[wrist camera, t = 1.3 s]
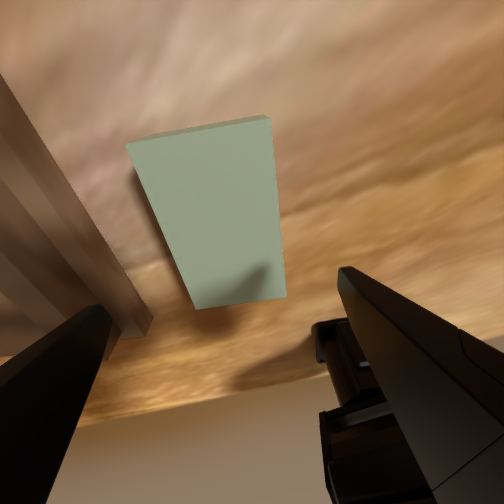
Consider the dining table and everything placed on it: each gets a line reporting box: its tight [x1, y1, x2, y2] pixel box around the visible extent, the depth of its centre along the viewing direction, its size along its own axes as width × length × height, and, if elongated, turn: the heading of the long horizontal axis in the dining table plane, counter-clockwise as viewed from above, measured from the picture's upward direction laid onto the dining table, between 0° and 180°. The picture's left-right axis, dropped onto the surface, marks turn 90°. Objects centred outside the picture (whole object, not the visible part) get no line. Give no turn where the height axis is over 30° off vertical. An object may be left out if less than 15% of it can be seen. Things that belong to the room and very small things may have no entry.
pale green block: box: [125, 115, 287, 310], centre depth 13 cm, size 10×6×4 cm, turn 9°
